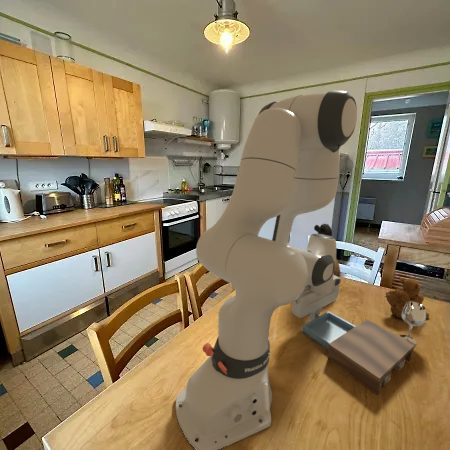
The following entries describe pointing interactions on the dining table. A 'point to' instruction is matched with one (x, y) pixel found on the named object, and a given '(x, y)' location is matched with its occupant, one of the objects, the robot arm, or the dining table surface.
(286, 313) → the dining table surface
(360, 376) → the wooden drawer box
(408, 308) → the wineglass
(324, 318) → the tray
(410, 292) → the stuffed squirrel
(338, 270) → the ceramic jug
